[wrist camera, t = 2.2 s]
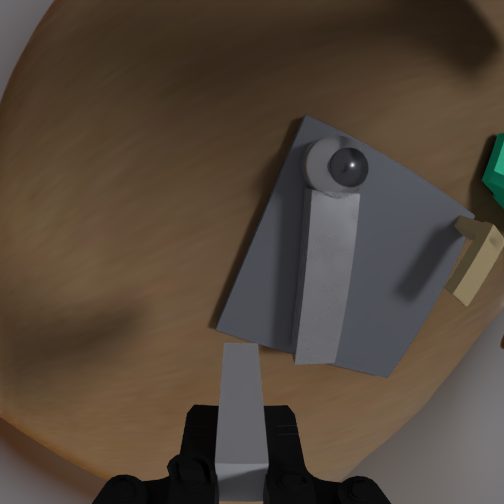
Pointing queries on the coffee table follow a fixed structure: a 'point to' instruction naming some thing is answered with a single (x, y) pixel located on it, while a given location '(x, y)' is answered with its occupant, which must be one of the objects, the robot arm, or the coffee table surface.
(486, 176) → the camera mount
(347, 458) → the coffee table surface
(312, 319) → the link
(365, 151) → the plate
